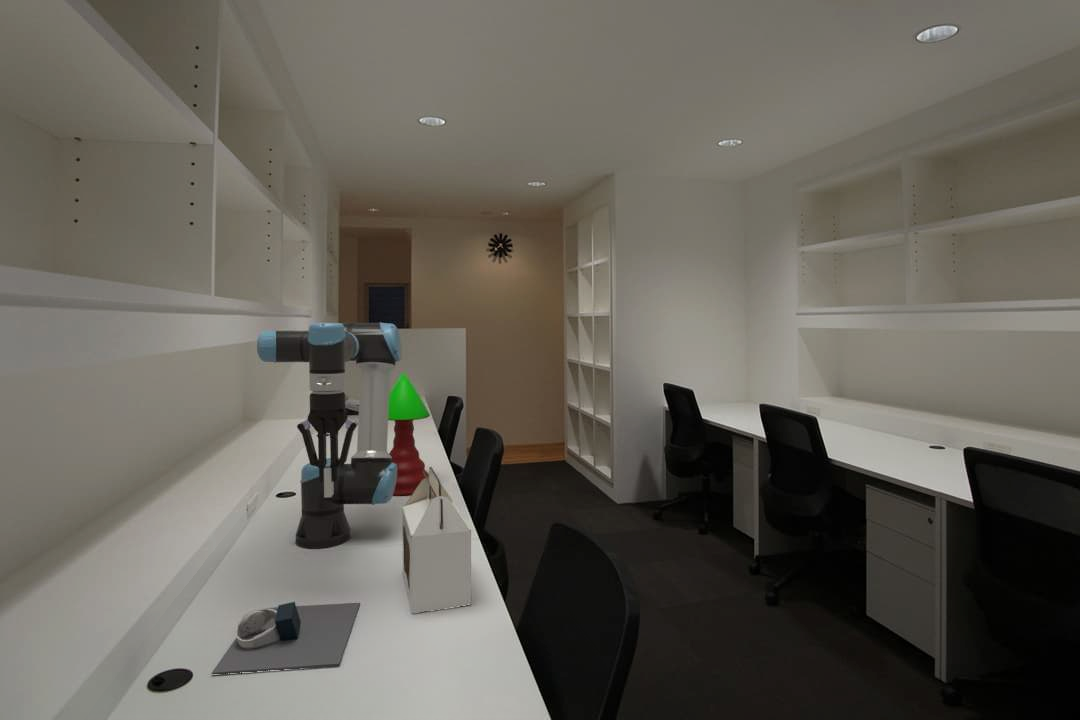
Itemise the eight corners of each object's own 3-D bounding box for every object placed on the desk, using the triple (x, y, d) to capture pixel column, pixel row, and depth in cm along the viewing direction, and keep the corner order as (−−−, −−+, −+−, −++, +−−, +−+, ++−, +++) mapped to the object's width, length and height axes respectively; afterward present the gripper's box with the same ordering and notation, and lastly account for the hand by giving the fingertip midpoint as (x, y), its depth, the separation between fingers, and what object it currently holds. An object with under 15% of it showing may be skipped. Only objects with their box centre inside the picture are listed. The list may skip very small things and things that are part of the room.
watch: (296, 594, 120) (238, 607, 118) (289, 624, 112) (228, 638, 110) (302, 615, 122) (246, 627, 120) (296, 646, 115) (236, 660, 113)
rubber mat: (256, 611, 128) (256, 608, 128) (360, 605, 132) (360, 602, 132) (211, 676, 105) (211, 672, 105) (339, 666, 108) (339, 663, 108)
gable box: (402, 573, 148) (401, 465, 147) (454, 567, 153) (454, 461, 151) (411, 615, 127) (410, 488, 126) (471, 606, 131) (471, 484, 130)
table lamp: (373, 485, 230) (372, 370, 227) (423, 479, 238) (423, 369, 235) (382, 498, 212) (381, 375, 209) (436, 492, 220) (436, 373, 217)
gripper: (292, 394, 126) (294, 501, 128) (354, 393, 128) (356, 499, 129) (301, 390, 134) (303, 491, 135) (360, 389, 135) (361, 490, 137)
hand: (328, 495), depth 132 cm, fingers closed
